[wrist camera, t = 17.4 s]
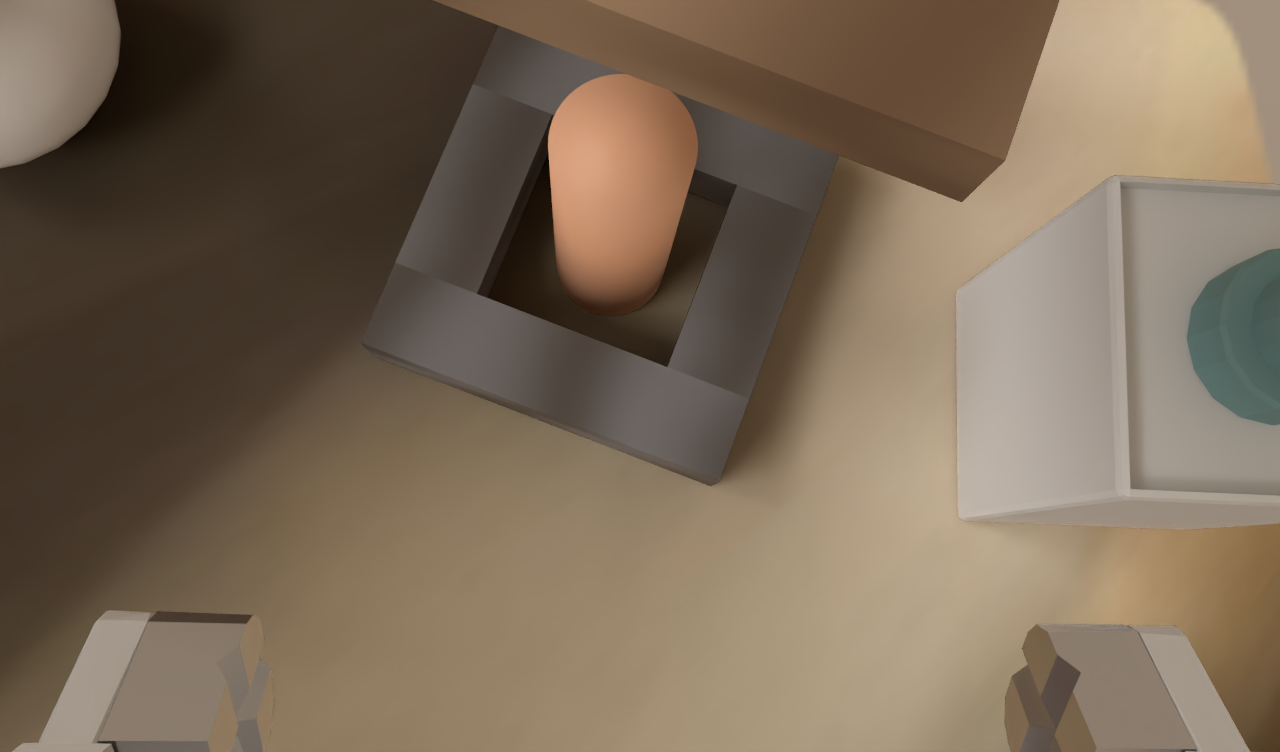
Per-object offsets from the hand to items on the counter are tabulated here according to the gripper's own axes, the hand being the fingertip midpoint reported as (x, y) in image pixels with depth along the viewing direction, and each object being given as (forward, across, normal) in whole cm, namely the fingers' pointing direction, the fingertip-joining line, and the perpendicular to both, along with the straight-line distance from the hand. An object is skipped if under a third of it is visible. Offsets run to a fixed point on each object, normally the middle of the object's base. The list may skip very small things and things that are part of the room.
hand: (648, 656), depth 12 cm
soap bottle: (+25, -17, +15) cm, 34 cm away
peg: (+29, 0, +12) cm, 31 cm away
